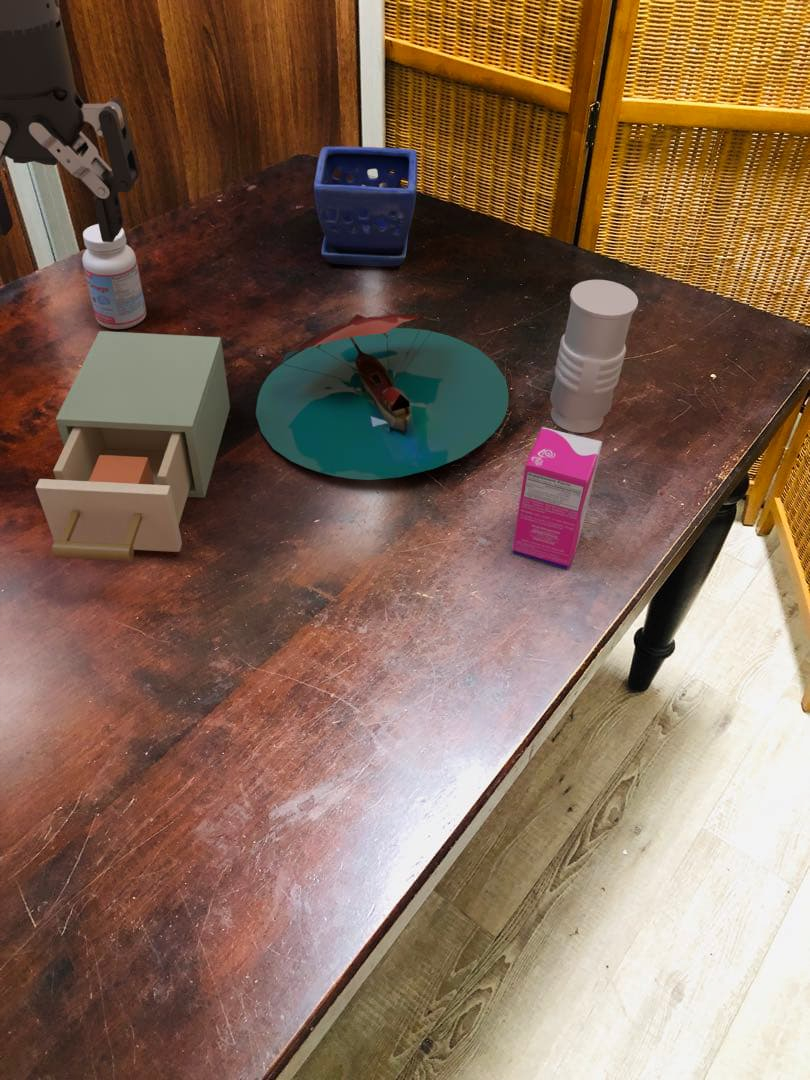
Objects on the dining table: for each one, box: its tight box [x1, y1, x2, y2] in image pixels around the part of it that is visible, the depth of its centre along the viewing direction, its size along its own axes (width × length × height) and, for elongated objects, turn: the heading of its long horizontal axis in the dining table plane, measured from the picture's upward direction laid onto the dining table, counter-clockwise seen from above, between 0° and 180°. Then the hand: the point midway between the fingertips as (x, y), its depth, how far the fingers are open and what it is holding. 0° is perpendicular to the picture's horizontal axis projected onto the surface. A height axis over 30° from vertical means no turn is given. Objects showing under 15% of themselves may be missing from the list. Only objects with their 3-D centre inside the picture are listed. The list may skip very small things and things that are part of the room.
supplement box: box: [511, 426, 603, 571], centre depth 81 cm, size 6×6×12 cm
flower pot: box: [313, 146, 418, 267], centre depth 119 cm, size 13×13×12 cm
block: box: [89, 455, 154, 485], centre depth 82 cm, size 4×4×4 cm
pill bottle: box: [81, 223, 147, 330], centre depth 105 cm, size 6×6×11 cm
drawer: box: [35, 426, 193, 562], centre depth 81 cm, size 19×11×7 cm, turn 178°
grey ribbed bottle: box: [549, 279, 639, 434], centre depth 93 cm, size 7×7×15 cm
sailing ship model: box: [255, 313, 510, 481], centre depth 95 cm, size 28×28×11 cm
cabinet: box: [55, 330, 231, 499], centre depth 89 cm, size 15×13×9 cm
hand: (58, 234), depth 71 cm, fingers open, 8 cm apart
